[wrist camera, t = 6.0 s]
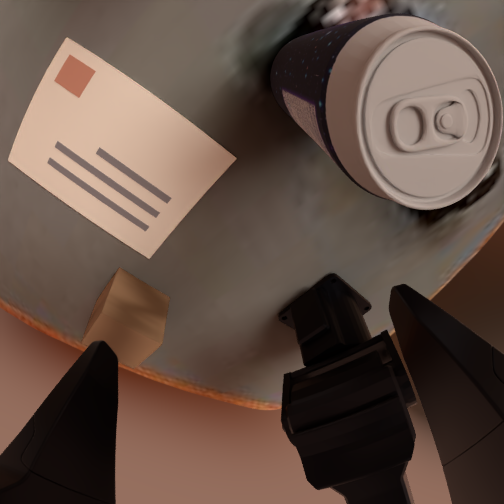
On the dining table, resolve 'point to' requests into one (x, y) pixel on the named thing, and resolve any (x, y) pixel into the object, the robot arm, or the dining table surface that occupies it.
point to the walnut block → (128, 318)
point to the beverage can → (395, 106)
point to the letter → (114, 150)
